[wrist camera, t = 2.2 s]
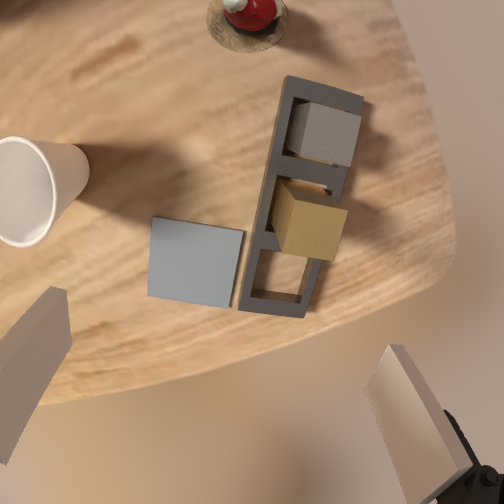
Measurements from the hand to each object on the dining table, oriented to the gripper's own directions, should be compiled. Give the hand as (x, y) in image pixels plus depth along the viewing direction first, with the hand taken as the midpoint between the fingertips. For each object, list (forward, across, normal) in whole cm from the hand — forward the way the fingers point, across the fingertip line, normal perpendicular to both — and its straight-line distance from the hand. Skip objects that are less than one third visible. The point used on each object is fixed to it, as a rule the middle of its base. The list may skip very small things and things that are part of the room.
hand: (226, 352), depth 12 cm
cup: (+24, -20, +1) cm, 31 cm away
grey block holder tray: (+24, +6, +1) cm, 25 cm away
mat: (+24, -3, -8) cm, 25 cm away
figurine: (+24, -3, +20) cm, 31 cm away
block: (+24, +6, +9) cm, 26 cm away
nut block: (+24, +6, +1) cm, 25 cm away
